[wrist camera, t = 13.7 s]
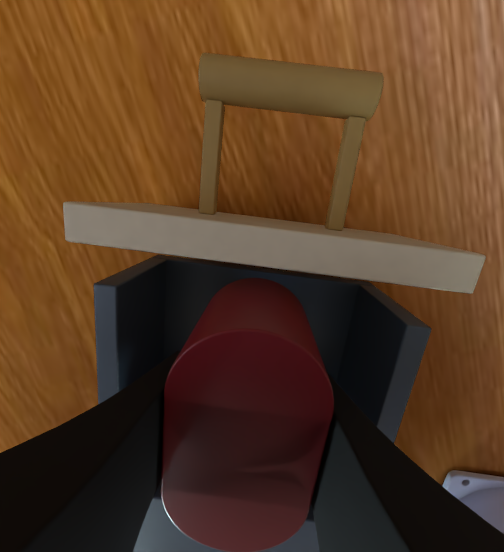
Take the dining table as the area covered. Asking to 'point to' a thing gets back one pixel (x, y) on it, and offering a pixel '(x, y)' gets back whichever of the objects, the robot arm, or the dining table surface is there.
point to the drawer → (270, 251)
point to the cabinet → (181, 548)
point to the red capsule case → (245, 420)
